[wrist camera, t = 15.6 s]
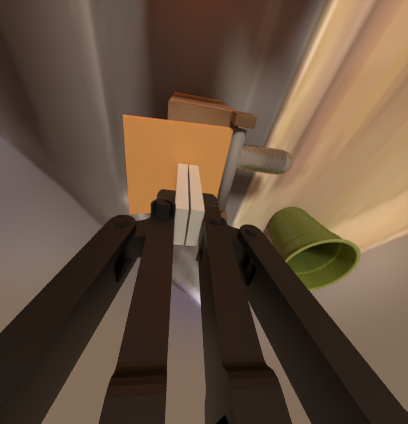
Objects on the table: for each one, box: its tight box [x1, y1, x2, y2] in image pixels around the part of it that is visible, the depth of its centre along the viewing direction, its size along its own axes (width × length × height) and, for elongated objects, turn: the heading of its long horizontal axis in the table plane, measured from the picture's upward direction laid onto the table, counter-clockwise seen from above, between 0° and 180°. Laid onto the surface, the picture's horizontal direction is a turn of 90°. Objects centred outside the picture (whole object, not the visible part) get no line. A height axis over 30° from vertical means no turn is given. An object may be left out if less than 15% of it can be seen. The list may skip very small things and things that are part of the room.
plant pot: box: [269, 207, 360, 291], centre depth 33 cm, size 12×12×11 cm
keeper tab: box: [123, 115, 247, 214], centre depth 17 cm, size 8×10×1 cm
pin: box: [236, 144, 292, 175], centre depth 23 cm, size 5×17×5 cm, turn 80°
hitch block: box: [168, 92, 257, 220], centre depth 22 cm, size 10×7×12 cm, turn 170°
